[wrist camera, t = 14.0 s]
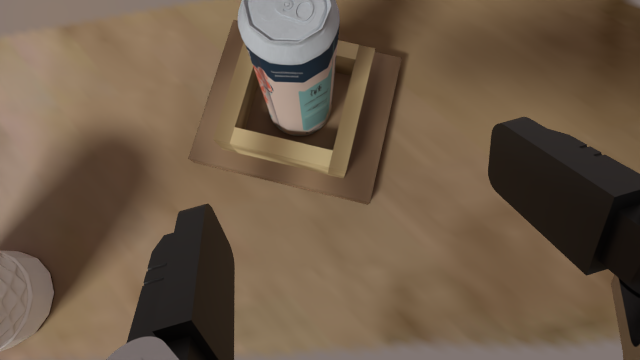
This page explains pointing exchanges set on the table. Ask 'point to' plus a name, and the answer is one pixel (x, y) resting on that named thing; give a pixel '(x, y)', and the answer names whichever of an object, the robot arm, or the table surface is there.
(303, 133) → the beer can
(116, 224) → the table surface
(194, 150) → the caddy
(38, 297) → the white cup
